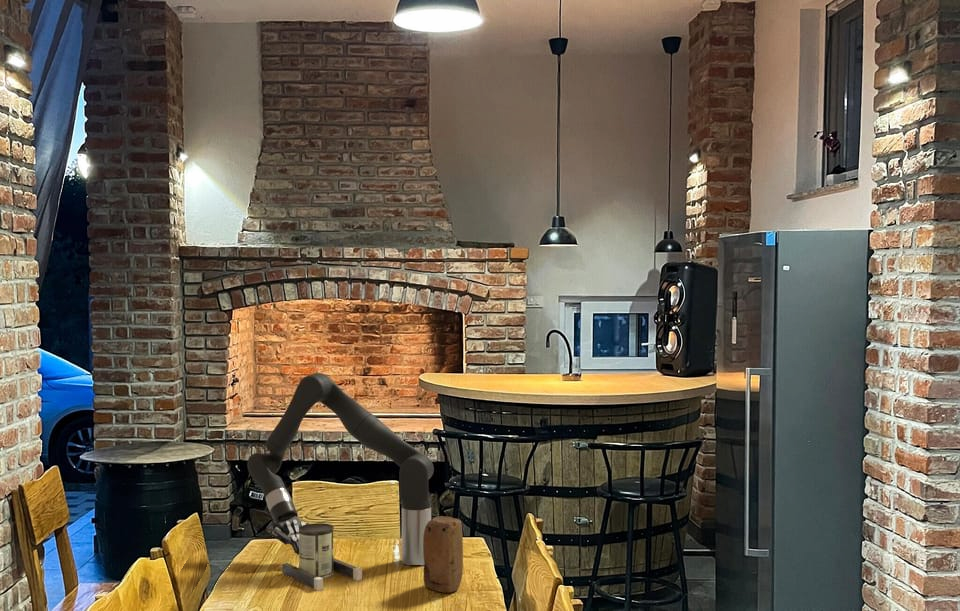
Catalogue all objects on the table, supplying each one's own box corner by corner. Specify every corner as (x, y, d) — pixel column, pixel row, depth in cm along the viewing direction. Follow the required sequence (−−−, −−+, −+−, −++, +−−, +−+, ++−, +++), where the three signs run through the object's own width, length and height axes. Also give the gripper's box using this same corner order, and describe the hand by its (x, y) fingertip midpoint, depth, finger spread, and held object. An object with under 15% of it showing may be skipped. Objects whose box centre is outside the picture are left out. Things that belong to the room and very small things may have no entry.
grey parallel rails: (325, 564, 271) (325, 554, 271) (361, 579, 256) (361, 569, 256) (282, 573, 261) (282, 563, 261) (317, 590, 246) (317, 579, 246)
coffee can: (309, 567, 268) (309, 521, 267) (339, 571, 264) (339, 524, 264) (291, 577, 258) (291, 530, 258) (322, 581, 254) (322, 533, 254)
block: (465, 588, 248) (465, 518, 248) (450, 596, 242) (450, 524, 242) (434, 581, 254) (434, 513, 254) (418, 589, 248) (419, 518, 248)
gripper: (266, 502, 270) (285, 550, 261) (303, 496, 279) (324, 542, 270) (258, 516, 274) (277, 564, 265) (295, 509, 283) (315, 555, 274)
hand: (300, 553), depth 268 cm, fingers closed
